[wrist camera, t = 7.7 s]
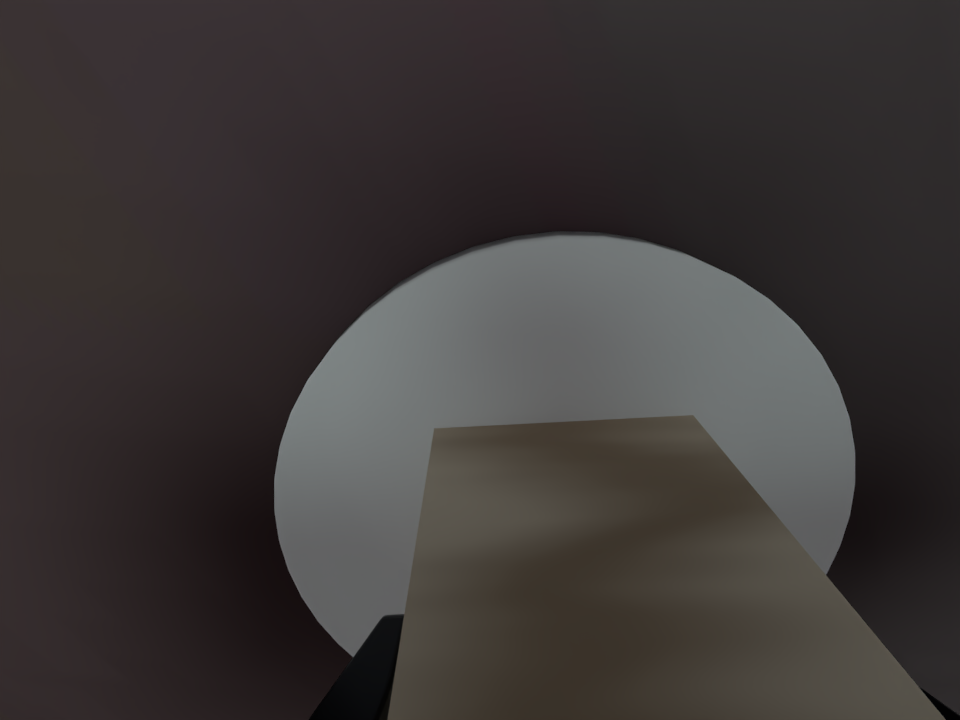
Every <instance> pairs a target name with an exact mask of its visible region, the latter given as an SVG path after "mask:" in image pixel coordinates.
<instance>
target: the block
mask: <svg viewBox="0 0 960 720" xmlns="http://www.w3.org/2000/svg"><path fill="white" fill-rule="evenodd" d="M387 720H946V719H945V718H944V717H943V716H942V715H941V713H940V712H939V711H938V710H937V709H936V707H935V706H934V705H933V704H932V703H931V701H930V700H929V699H928V698H927V696H926V695H925V694H924V693H923V692H922V690H921V689H920V688H919V687H918V686H917V684H916V683H915V682H914V681H913V680H912V678H911V677H910V676H909V675H908V674H907V672H906V671H905V670H904V669H903V668H902V666H901V665H900V664H899V663H898V662H897V660H896V659H895V658H894V657H893V655H892V654H891V653H890V652H889V651H888V649H887V648H886V647H885V646H884V645H883V643H882V642H881V641H880V640H879V639H878V637H877V636H876V635H875V634H874V633H873V631H872V630H871V629H870V628H869V627H868V625H867V624H866V623H865V622H864V621H863V619H862V618H861V617H860V616H859V614H858V613H857V612H856V611H855V610H854V608H853V607H852V606H851V605H850V604H849V602H848V601H847V600H846V599H845V598H844V596H843V595H842V594H841V593H840V592H839V590H838V589H837V588H836V587H835V586H834V584H833V583H832V582H831V581H830V580H829V578H828V577H827V576H826V575H825V573H824V572H823V571H822V570H821V569H820V567H819V566H818V565H817V564H816V563H815V561H814V560H813V559H812V558H811V557H810V555H809V554H808V553H807V552H806V551H805V549H804V548H803V547H802V546H801V545H800V543H799V542H798V541H797V540H796V538H795V537H794V536H793V535H792V534H791V532H790V531H789V530H788V529H787V528H786V526H785V525H784V524H783V523H782V522H781V520H780V519H779V518H778V517H777V516H776V514H775V513H774V512H773V511H772V510H771V508H770V507H769V506H768V505H767V504H766V502H765V501H764V500H763V499H762V497H761V496H760V495H759V494H758V493H757V491H756V490H755V489H754V488H753V487H752V485H751V484H750V483H749V482H748V481H747V479H746V478H745V477H744V476H743V475H742V473H741V472H740V471H739V470H738V469H737V467H736V466H735V465H734V464H733V463H732V461H731V460H730V459H729V458H728V456H727V455H726V454H725V453H724V452H723V450H722V449H721V448H720V447H719V446H718V444H717V443H716V442H715V441H714V440H713V438H712V437H711V436H710V435H709V434H708V432H707V431H706V430H705V429H704V428H703V426H702V425H701V424H700V423H699V422H698V420H697V419H696V418H695V417H694V415H686V416H666V417H646V418H627V419H608V420H588V421H569V422H549V423H530V424H511V425H491V426H472V427H452V428H434V432H433V439H432V445H431V451H430V457H429V464H428V470H427V476H426V482H425V489H424V495H423V501H422V507H421V513H420V520H419V526H418V532H417V538H416V545H415V551H414V557H413V563H412V570H411V576H410V582H409V588H408V595H407V601H406V607H405V613H404V620H403V626H402V632H401V638H400V644H399V651H398V657H397V663H396V669H395V676H394V682H393V688H392V694H391V701H390V707H389V713H388V719H387Z"/></svg>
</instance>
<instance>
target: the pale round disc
mask: <svg viewBox="0 0 960 720" xmlns="http://www.w3.org/2000/svg"><path fill="white" fill-rule="evenodd" d="M686 415H694V417H695V418H696V419H697V420H698V422H699V423H700V424H701V425H702V426H703V428H704V429H705V430H706V431H707V432H708V434H709V435H710V436H711V437H712V438H713V440H714V441H715V442H716V443H717V444H718V446H719V447H720V448H721V449H722V450H723V452H724V453H725V454H726V455H727V456H728V458H729V459H730V460H731V461H732V463H733V464H734V465H735V466H736V467H737V469H738V470H739V471H740V472H741V473H742V475H743V476H744V477H745V478H746V479H747V481H748V482H749V483H750V484H751V485H752V487H753V488H754V489H755V490H756V491H757V493H758V494H759V495H760V496H761V497H762V499H763V500H764V501H765V502H766V504H767V505H768V506H769V507H770V508H771V510H772V511H773V512H774V513H775V514H776V516H777V517H778V518H779V519H780V520H781V522H782V523H783V524H784V525H785V526H786V528H787V529H788V530H789V531H790V532H791V534H792V535H793V536H794V537H795V538H796V540H797V541H798V542H799V543H800V545H801V546H802V547H803V548H804V549H805V551H806V552H807V553H808V554H809V555H810V557H811V558H812V559H813V560H814V561H815V563H816V564H817V565H818V566H819V567H820V569H821V570H822V571H823V572H824V573H825V575H826V574H827V572H828V570H829V568H830V566H831V564H832V562H833V560H834V558H835V556H836V554H837V552H838V550H839V547H840V545H841V542H842V539H843V536H844V533H845V530H846V526H847V523H848V520H849V517H850V512H851V506H852V500H853V494H854V488H855V447H854V441H853V435H852V429H851V423H850V418H849V415H848V412H847V409H846V406H845V403H844V400H843V397H842V394H841V392H840V389H839V386H838V384H837V382H836V380H835V378H834V377H833V375H832V373H831V371H830V369H829V368H828V366H827V364H826V362H825V360H824V358H823V357H822V355H821V353H820V352H819V351H818V350H817V348H816V347H815V346H814V345H813V343H812V342H811V341H810V340H809V338H808V337H807V336H806V335H805V333H804V332H803V331H802V330H801V328H800V327H799V326H798V325H797V324H796V323H795V322H794V321H793V320H792V319H791V318H790V317H788V316H787V315H786V314H785V313H784V312H783V311H782V310H781V309H780V308H779V307H777V306H776V305H775V304H774V303H773V302H772V301H771V300H770V299H768V298H767V297H765V296H764V295H762V294H761V293H759V292H758V291H756V290H755V289H753V288H752V287H750V286H749V285H747V284H746V283H744V282H742V281H741V280H739V279H738V278H736V277H735V276H733V275H731V274H728V273H726V272H724V271H722V270H720V269H718V268H716V267H714V266H711V265H709V264H707V263H705V262H703V261H700V260H698V259H696V258H694V257H692V256H690V255H687V254H685V253H683V252H681V251H679V250H677V249H673V248H670V247H667V246H663V245H660V244H656V243H653V242H650V241H646V240H643V239H639V238H635V237H628V236H621V235H614V234H608V233H601V232H568V231H553V232H545V233H537V234H529V235H520V236H513V237H509V238H505V239H501V240H497V241H493V242H489V243H485V244H482V245H478V246H474V247H471V248H468V249H466V250H464V251H461V252H459V253H456V254H454V255H451V256H449V257H446V258H444V259H441V260H439V261H436V262H434V263H432V264H431V265H429V266H427V267H425V268H424V269H422V270H420V271H418V272H417V273H415V274H413V275H411V276H410V277H408V278H406V279H404V280H403V281H401V282H399V283H398V284H397V285H395V286H394V287H393V288H391V289H390V290H389V291H388V292H386V293H385V294H384V295H382V296H381V297H380V298H378V299H377V300H376V301H375V302H373V303H372V304H371V305H369V306H368V307H367V308H366V309H365V310H364V311H363V312H362V314H361V315H360V316H359V317H358V318H357V319H356V320H355V321H354V322H353V323H352V324H351V325H350V326H349V327H348V328H347V329H346V330H345V331H344V332H343V333H342V334H341V336H340V337H339V338H338V340H337V341H336V342H335V344H334V345H333V346H332V347H331V349H330V350H329V351H328V353H327V354H326V356H325V357H324V358H323V360H322V361H321V362H320V364H319V365H318V367H317V368H316V369H315V371H314V372H313V373H312V375H311V376H310V377H309V379H308V380H307V382H306V384H305V386H304V388H303V390H302V392H301V394H300V396H299V398H298V400H297V402H296V403H295V405H294V407H293V409H292V411H291V413H290V416H289V419H288V422H287V425H286V428H285V431H284V434H283V437H282V440H281V443H280V447H279V453H278V459H277V465H276V471H275V477H274V512H275V518H276V525H277V531H278V538H279V543H280V546H281V549H282V552H283V555H284V558H285V562H286V565H287V568H288V571H289V573H290V575H291V577H292V579H293V581H294V583H295V585H296V587H297V589H298V591H299V593H300V595H301V597H302V599H303V600H304V602H305V603H306V604H307V606H308V607H309V609H310V610H311V612H312V613H313V615H314V616H315V618H316V619H317V621H318V622H319V623H320V624H321V625H322V627H323V628H324V629H325V630H326V631H327V632H328V633H329V634H330V635H331V637H332V638H333V639H334V640H335V641H336V642H337V643H338V644H339V645H340V646H341V647H342V648H343V649H344V650H346V651H347V652H348V653H349V654H350V655H351V656H352V657H354V655H355V654H356V653H357V651H358V650H359V648H360V647H361V646H362V644H363V643H364V641H365V640H366V639H367V637H368V636H369V634H370V633H371V632H372V630H373V629H374V627H375V626H376V625H377V623H378V622H379V620H380V619H381V618H382V617H383V616H385V615H392V614H404V613H405V607H406V601H407V595H408V588H409V582H410V576H411V570H412V563H413V557H414V551H415V545H416V538H417V532H418V526H419V520H420V513H421V507H422V501H423V495H424V489H425V482H426V476H427V470H428V464H429V457H430V451H431V445H432V439H433V432H434V428H452V427H472V426H491V425H511V424H530V423H549V422H569V421H588V420H608V419H627V418H646V417H666V416H686Z"/></svg>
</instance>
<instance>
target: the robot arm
mask: <svg viewBox="0 0 960 720" xmlns="http://www.w3.org/2000/svg"><path fill="white" fill-rule="evenodd" d="M403 620H404V614H392V615H385V616H383V617H382V618H381V619H380V620H379V622H378V623H377V625H376V626H375V627H374V629H373V630H372V632H371V633H370V634H369V636H368V637H367V639H366V640H365V641H364V643H363V644H362V646H361V647H360V648H359V650H358V651H357V653H356V654H355V655H354V657H353V658H352V660H351V661H350V662H349V664H348V665H347V667H346V668H345V669H344V671H343V672H342V674H341V675H340V676H339V678H338V679H337V681H336V682H335V683H334V685H333V686H332V688H331V689H330V690H329V692H328V693H327V695H326V696H325V697H324V699H323V700H322V702H321V703H320V704H319V706H318V707H317V709H316V710H315V711H314V713H313V714H312V716H311V717H310V718H309V720H387V719H388V713H389V707H390V701H391V694H392V688H393V682H394V676H395V669H396V663H397V657H398V651H399V644H400V638H401V632H402V626H403ZM918 687H919V686H918ZM919 688H920V687H919ZM920 689H921V690H922V692H923V693H924V694H925V695H926V696H927V698H928V699H929V700H930V701H931V703H932V704H933V705H934V706H935V707H936V709H937V710H938V711H939V712H940V713H941V715H942V716H943V717H944V718H945V719H946V720H960V715H958V714H957V713H956V712H954V711H953V710H951V709H950V708H948V707H947V706H946V705H944V704H943V703H941V702H940V701H939V700H937V699H936V698H934V697H933V696H932V695H930V694H929V693H927V692H926V691H924V690H923V689H922V688H920Z"/></svg>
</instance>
